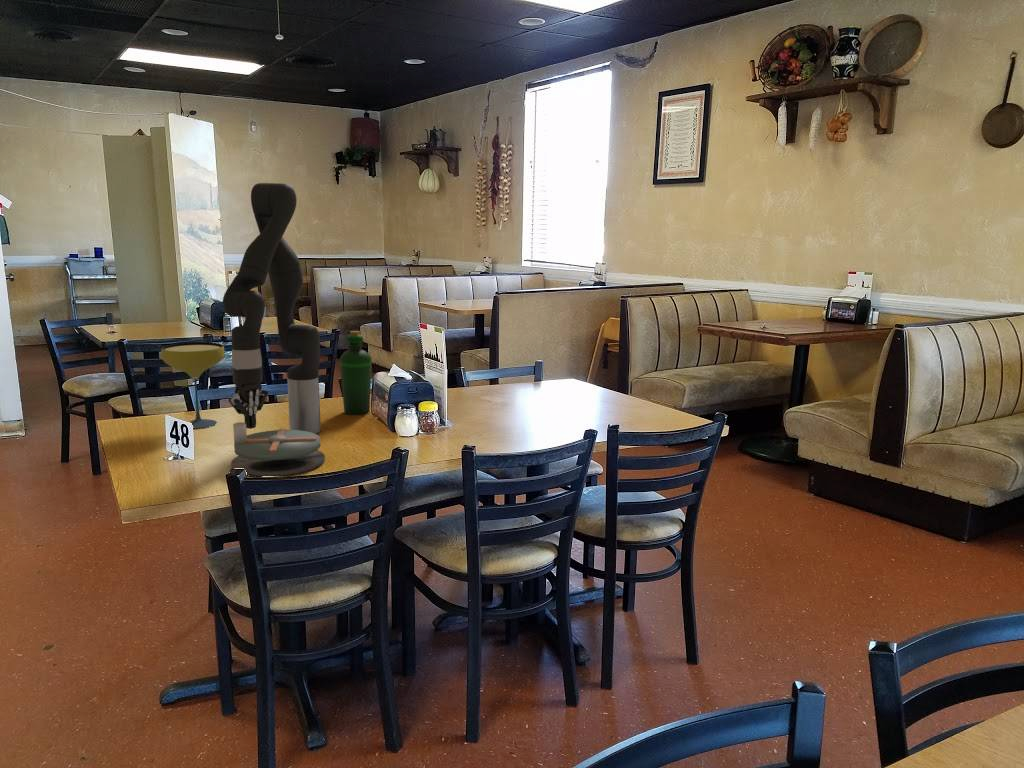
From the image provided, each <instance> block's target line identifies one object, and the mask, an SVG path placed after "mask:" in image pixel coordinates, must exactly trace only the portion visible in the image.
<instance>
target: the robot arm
mask: <svg viewBox="0 0 1024 768" xmlns="http://www.w3.org/2000/svg"><path fill="white" fill-rule="evenodd" d="M250 192H251V193H250V204H251V208H252V212H253V216H254V219H255V223H256V226H257V228H258V232H259V234H258V235H257V236H256V237H255V238H254V240H253V241H252V242H250V244H249V245H248V246H247V248H246V250H245V251H244V254H243V257H242V260H241V263H240V266H239V267H240V268H239V270H238V273H236V275H235V277H233V280H231V281H232V282H230V284H229V286H228V287H227V289H226V290H225V292H224V295H223V298H222V308H223V311H224V313H225V314H227V316H230V317H237V318H244V323H242V324H243V325H238V326H235V327H233V328H232V329H231V368H232V382H233V384H234V385H235V388H234V396H233V397H230V398H229V399H228V403H229V404H230V405H231V406H232V408H233V409H234V410H235V412H236V413H237V414H238V415H243V417H244V418H243V419H244V423H246V429H250V430H251V429H255V428H256V426H257V414H258V411H261V410H262V408H263V407H264V405H265V402H266V399H267V397H268V395H269V391H268V390H265V389H263V386H262V383H263V376H264V375H263V374H264V373H263V358H262V352H261V340H260V339H261V338H260V333H261V327H262V323H263V318H264V315H265V309H266V303H265V299H264V297H263V295H262V294H261V292H259V291H256V290H252V289H255V288H259V287H262V286H263V285H264V284H265V283H266V279H267V277H268V278H269V283H270V286H271V291H272V296H273V302H274V305H275V313H276V322H277V333H278V340H279V341H278V342H279V346H280V348H281V350H282V352H283V353H284V354H285V355H289V356H301V357H302V358H301V363H299V364H296V365H293V366H290V367H289V368H287V370H286V376H287V380H286V381H287V398H288V421H289V430H300V431H307V432H311V433H314V434H318V433H320V432H321V407H320V406H321V405H320V403H321V402H320V381H319V380H320V379H319V372H320V364H321V363H320V361H321V359H320V354H321V338H320V337H321V336H320V333H319V329H318V328H317V327H316V326H314V325H307V324H296V323H295V319H294V318H295V317H294V308H295V305H296V303H297V300H298V298H299V296H300V294H301V292H302V289H303V286H304V277H303V271H302V266H301V262H300V259H299V257H298V255H297V254H296V252H295V251H294V249H293V248H292V247H291V246H290V244H289V243H288V241H286V239H285V238H284V234H285V232H286V230H287V228H288V226H289V224H290V222H291V220H292V218H293V216H294V213H295V211H296V208H297V199H298V198H297V194H296V191H295V189H294V188H293V187H292V186H291V185H290V184H287V183H280V182H279V183H278V182H277V183H275V182H272V183H271V182H270V183H269V182H268V183H267V182H260V183H259V182H258V183H256V184H254V185H253V186H252V189H251V191H250Z"/></svg>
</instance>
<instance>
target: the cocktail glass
mask: <svg viewBox="0 0 1024 768" xmlns="http://www.w3.org/2000/svg"><path fill="white" fill-rule="evenodd" d="M160 355H161V359H162V361H163V362H164V363H165V364H166V365H167V366H170V367H172V368H175V369H177V370H179V371H182V372H183V373H184V372H185V373H186V374H187V375H188V376H189V377H190V378H191V379H192V380H194V392H195V393H194V394H195V409H196V410H195V412H196V413H195V419H192V421H190V420H189V421H190V422H191V423H192V425H193V427H194V429H193V430H197V429H196V428H202V429H206V428H205V427H208V428H210V427H209V426H212V427H214V426H216V425H217V424H216V423H218V421H216V420H215V419H205V418H202V417H201V413H200V409H199V408H200V407H199V397H198V382H197V380H198V379H199V378H200V377H201V376H202V374H203V372H205V371H207V370H209V369H210V368H212V367H214V366H217V364H219V363H220V362H221V361H222V360H223V359H224V357H225V347H224V345H223V344H221V343H216V342H205V341H202V342H184V343H175V344H169V345H168V344H167V345H165V346H163V347H161V351H160ZM215 424H216V425H215ZM213 425H214V426H213Z"/></svg>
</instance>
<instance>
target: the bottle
mask: <svg viewBox="0 0 1024 768" xmlns="http://www.w3.org/2000/svg"><path fill="white" fill-rule="evenodd" d="M360 333H361V331H360V330H350V331H349V334H348V335H347V339H346V343H347V344H348V349H347V350H345V351H344V352H343V353H342V354H341V356H340V358H339V367H340V376H341V377H340V379H341V380H340V381H341V389H342V400H343V411H344V413H346V414H347V415H352V416H354V415H356V416H358V415H359V416H360V415H364V414H368V413H369V412H370V411H371V388H372V387H371V384H372V383H371V382H372V356H371V355H370V354H369V352H367V351H366V350H364V349H362V347H363V345H362V344H363V343H364V339H363V337H364V336H363V335H362V334H360Z"/></svg>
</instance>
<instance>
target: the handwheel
mask: <svg viewBox="0 0 1024 768" xmlns="http://www.w3.org/2000/svg"><path fill="white" fill-rule="evenodd" d="M232 428H233V446H234V454H235V455H237V456H240V457H243V458H247V459H253V460H283V459H291V458H296V457H301V456H305V455H308V454H310V453H313V452H315V451H316V450H319V449H320V447H321V437H320V436H319V435H318V433H316V434H314V433H311V432H307V431H300V430H290V429H286V428H279V429H275V430H265V431H260V432H254V433H251V434H247V428H246V423H245V422H241V421H239V422H235V423H233V424H232Z"/></svg>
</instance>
